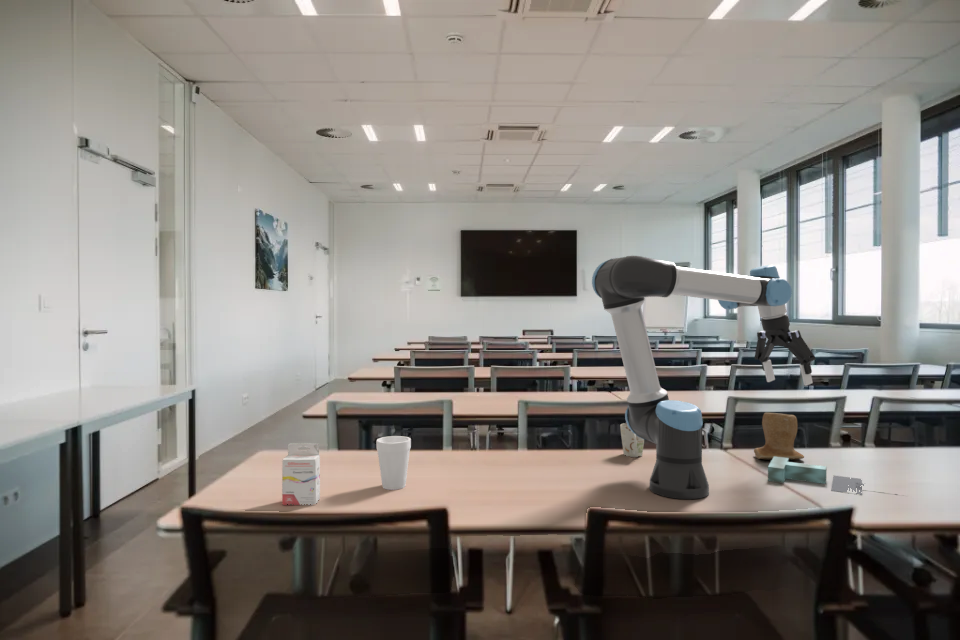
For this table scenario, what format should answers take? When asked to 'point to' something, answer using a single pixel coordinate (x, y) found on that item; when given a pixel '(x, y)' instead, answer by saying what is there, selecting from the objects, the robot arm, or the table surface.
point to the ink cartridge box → (301, 475)
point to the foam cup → (393, 460)
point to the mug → (631, 442)
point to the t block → (795, 471)
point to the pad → (846, 484)
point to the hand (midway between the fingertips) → (789, 382)
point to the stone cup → (778, 437)
